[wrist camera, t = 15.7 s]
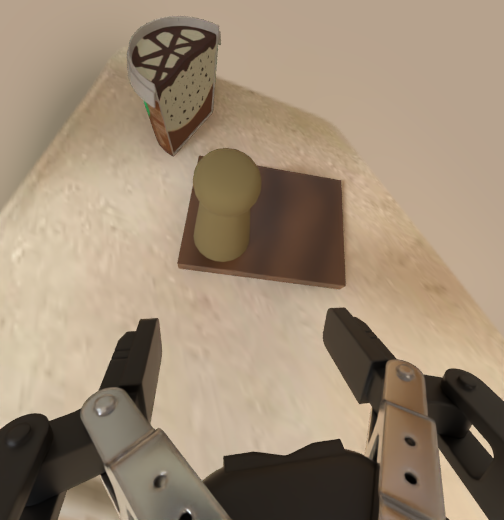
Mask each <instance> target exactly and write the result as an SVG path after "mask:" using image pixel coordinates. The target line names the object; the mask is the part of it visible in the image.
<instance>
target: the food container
mask: <svg viewBox="0 0 504 520" xmlns="http://www.w3.org/2000/svg"><path fill="white" fill-rule="evenodd" d="M218 44H219V45H221V36H220V31H219V26H218V25H216V24H214V23H212V22H209V21H206V20H203V19H199V18H194V17H186V16H173V17H164V18H160V19H156V20H153V21H151V22H149V23H146V24H145V25H143V26H141V27H140V28H139V29H138V30H137V31H136V32H135V33H134V34H133V36H132V37H131V40H130V42H129V47H128V52H127V68H128V78H129V81H130V84H131V86H132V87H133V89H134V91H135V92H136V93H137V94H138V95H139V97H140V98H142V99H143V101H144V104H145V107H146V110H147V112H148V115H149V118H150V121H151V124H152V127H153V130H154V133H155V135H156V138H157V141H158V143H159V144H160V146H161V147H162V148H163V149H164V150H165V151H166V152H167V153H168V154H170V155H172V156H174V155H175V154H176V153H177V152H178V151H179V150H180V149H181V147H182V146H183V145H184V144H185V143H186V142H187V141H188V140H189V138H190V137H191V136H192V135H193V134H194V133H195V132H196V131H197V130H198V128H199V127H200V126H201V125H202V124H203V123H204V122H205V121H206V120H207V118H208V117H209V116H210V115H211V114H212V113H213V104H214V91H215V78H216V65H217V51H218Z"/></svg>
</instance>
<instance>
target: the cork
mask: <svg viewBox="0 0 504 520" xmlns="http://www.w3.org/2000/svg"><path fill="white" fill-rule="evenodd" d="M193 186H194V191H195V195H196V197H197V198H198V200H199V201H200V202H199V208H198V213H197V218H196V224H195V229H194V236H193V237H194V242H195V245H196V247H197V248H198V250H199V252H200V253H202V254H203V255H204V256H205V257H206V258H209V259H211V260H214V261H219V262H226V261H231V260H234V259H236V258H238V257H240V256H241V255H242V254H243V253H244V252H245V251H246V249H247V247H248V244H249V237H250V208H251V207H252V206H253V205H254V204H255V203H256V201H257V199H258V197H259V195H260V192H261V175H260V172H259V169H258V167H257V166H256V164H255V163H254V162H253V160H252V159H251V158H250V157H249V156H247V155H246V154H245V153H243V152H241V151H238V150H236V149H229V148H223V149H216V150H214V151H211V152H209V153H208V154H207V155H205V156H204V157H203V158H202V159H201V160H200V161H199V163H198V164H197V166H196V168H195V171H194V176H193Z"/></svg>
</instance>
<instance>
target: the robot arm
mask: <svg viewBox="0 0 504 520" xmlns="http://www.w3.org/2000/svg"><path fill="white" fill-rule="evenodd" d="M323 341H324V345H325V347H326V349H327V350H328V352H329V354H330V355H331V357H332V359H333V361H334V362H335V364H336V366H337V367H338V369H339V371H340V372H341V374H342V376H343V378H344V379H345V381H346V383H347V384H348V386H349V388H350V389H351V391H352V393H353V395H354V396H355V398H356V400H357V401H358V403H359V404H363V403H370V404H371V406H372V409H371V412H370V419H369V426H368V433H367V441H366V448H365V454H364V455H362V454H360V453H357V452H355V451H351V450H347V449H344V447H343V445H342V443H341V440H340V439H335V440H328V441H322V442H315V443H311V444H309V445H307V446H305V447H303V448H301V449H299V450H297V451H295V452H293V453H291V454H289V455H276V454H268V453H260V452H248V453H242V454H235V455H228V456H223V467H222V468H220V469H218V470H216V471H215V472H213V473H212V474H210V475H209V476H208V477H206V478H205V479H204V480H203V481H201V479H200V478H199V477H198V475H197V474H196V473H195V471H194V470H193V469H192V468H191V466H190V465H189V464H188V462H187V461H186V460H185V458H184V457H183V456H182V455H181V453H180V452H179V451H178V449H177V448H176V447H175V445H174V444H173V443H172V442H171V440H170V439H169V438H168V436H167V435H166V434H165V433H164V431H163V430H161V429H160V428H158V429H156V430H155V429H154V428H153V427H152V426H151V425H150V422H151V416H152V411H153V405H154V399H155V393H156V388H157V382H158V376H159V370H160V365H161V358H162V343H161V334H160V325H159V319H158V318H152V319H140V321H139V324H138V327H137V330H136V331H131V332H126V333H125V334H124V335H123V336H122V337H121V338H120V339H119V341H118V343H117V346H116V348H115V352H114V353H113V356H112V360H111V361H110V363H109V366H108V368H107V371H106V373H105V376H104V378H103V381H102V383H101V386H100V388H99V391H98V392H96V393H95V394H93V395H92V396H91V397H89V398H88V399H87V400H86V402H85V403H84V404H83V406H82V408H81V409H79V410H77V411H75V412H73V413H70V414H68V415H65V416H62V417H59V418H57V419H54V420H51V421H48V418H47V417H46V416H44V415H43V414H37V413H34V414H28V415H24V416H21V417H19V418H17V419H15V420H13V421H11V422H10V423H8V424H6V425H5V426H4V427H3V428H1V429H0V520H58V517H59V513H60V510H61V507H62V504H63V501H64V498H65V495H66V492H67V490H68V489H70V488H73V487H75V486H77V485H79V484H81V483H83V482H85V481H87V480H90V479H92V478H94V477H96V476H98V475H99V477H100V479H101V481H102V483H103V485H104V487H105V489H106V491H107V493H108V495H109V497H110V499H111V501H112V503H113V505H114V507H115V509H116V511H117V513H118V515H119V517H120V519H121V520H449V519H448V518H447V517H446V516H445V506H444V497H443V487H442V478H441V468H440V459H439V450H438V448H439V449H440V451H441V452H442V454H443V455H444V456H445V458H446V459H447V461H448V462H449V464H450V465H451V466H452V468H453V469H454V471H455V472H456V473H457V475H458V476H459V478H460V479H461V481H462V482H463V483H464V485H465V486H466V488H467V489H468V491H469V492H470V493H471V495H472V496H473V498H474V499H475V501H476V502H477V503H478V505H479V506H480V508H481V509H482V511H483V512H484V513H485V515H486V516H487V518H488V519H489V520H504V401H503V400H502V399H501V398H500V397H498V396H497V395H496V394H495V393H494V392H493V391H492V390H491V389H490V388H489V387H488V386H487V385H486V384H485V383H484V382H482V381H481V380H480V379H479V378H477V377H476V376H474V375H473V374H471V373H469V372H466V371H464V370H460V369H448V370H447V371H446V372H445V374H444V376H443V378H441V377H435V376H429V375H423V373H422V372H421V371H420V370H419V369H418V368H417V367H416V366H414V365H412V364H411V363H409V362H406V361H403V360H398V359H396V358H395V357H394V355H393V354H392V353H391V352H390V351H389V350H388V349H387V347H386V346H385V345H384V344H383V343H382V342H381V341H380V339H379V338H377V336H376V335H375V334H374V333H373V332H372V330H371V329H370V328H369V327H368V326H367V325H366V323H364V322H363V321H361V320H360V319H358V318H357V317H353V316H352V315H351V314H350V313H349V311H348V310H347V309H346V308H329V309H328V311H327V315H326V320H325V326H324V331H323ZM471 425H473V426H474V427H475V428H476V429H477V430H478V431H479V432H480V434H481V435H482V436H483V437H484V438H485V439H486V440H487V442H488V443H489V444H490V446H491V448H492V450H493V454H494V458H492V456H491V455H490V454H489V453H488V452H487V451H486V449H485V448H484V447H483V446H482V445H481V444H480V442H479V441H478V440H477V439H476V438H475V436H474V435H473V434H472V433H471V432H470V431H469V429H470V427H471Z"/></svg>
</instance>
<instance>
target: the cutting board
mask: <svg viewBox="0 0 504 520" xmlns="http://www.w3.org/2000/svg"><path fill="white" fill-rule="evenodd" d="M203 157H204V156H199V159H198V163H199V161H200V160H201V159H202V158H203ZM257 167H258V169H259V172H260V175H261V192H260V195H259V197H258V199H257V201H256V203H255V204H254V205H253V206H252V207H251V208H250V237H249V244H248V247H247V249H246V251H245V252H244V253H243V254H242V255H241V256H240V257H238V258H236V259H234V260H231V261H226V262H219V261H214V260H211V259H209V258H206V257H205V256H204V255H203V254H202V253H200V252H199V250H198V248H197V247H196V245H195V242H194V237H193V236H194V229H195V224H196V218H197V213H198V208H199V202H200V201H199V200H198V198H197V197H196V195H195V191H194V186H193V189H192V194H191V198H190V203H189V208H188V213H187V218H186V223H185V228H184V233H183V238H182V243H181V248H180V253H179V258H178V263H177V264H178V267H179V268H180V269H188V270H195V271H203V272H211V273H218V274H226V275H234V276H241V277H249V278H257V279H265V280H272V281H280V282H288V283H295V284H303V285H311V286H318V287H326V288H334V289H341V288H343V287H344V286H345V260H344V236H343V212H342V188H341V180H335V179H330V178H324V177H318V176H312V175H307V174H301V173H295V172H290V171H284V170H278V169H272V168H267V167H261V166H257Z"/></svg>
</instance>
